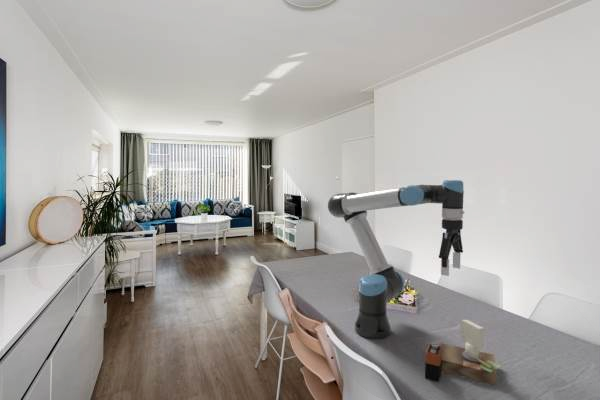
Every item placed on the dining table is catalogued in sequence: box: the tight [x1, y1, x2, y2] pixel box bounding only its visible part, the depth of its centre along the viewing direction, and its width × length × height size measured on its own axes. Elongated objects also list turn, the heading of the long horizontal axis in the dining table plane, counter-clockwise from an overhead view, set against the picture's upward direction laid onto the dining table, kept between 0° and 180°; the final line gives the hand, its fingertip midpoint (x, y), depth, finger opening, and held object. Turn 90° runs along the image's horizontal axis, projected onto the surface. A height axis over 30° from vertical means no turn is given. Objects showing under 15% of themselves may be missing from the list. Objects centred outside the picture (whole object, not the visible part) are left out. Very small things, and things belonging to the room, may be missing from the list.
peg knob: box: [461, 319, 491, 368], centre depth 108 cm, size 6×10×12 cm, turn 19°
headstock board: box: [431, 341, 501, 386], centre depth 111 cm, size 21×13×4 cm, turn 62°
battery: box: [424, 342, 443, 383], centre depth 106 cm, size 4×7×10 cm, turn 149°
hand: (450, 271), depth 128 cm, fingers open, 13 cm apart
